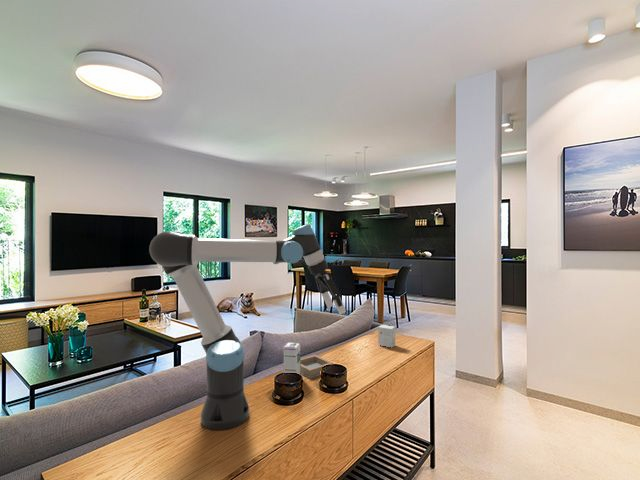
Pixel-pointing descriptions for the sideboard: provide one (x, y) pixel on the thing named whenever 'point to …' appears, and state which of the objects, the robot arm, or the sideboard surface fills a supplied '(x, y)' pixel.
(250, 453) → the sideboard surface
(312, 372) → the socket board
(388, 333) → the small box
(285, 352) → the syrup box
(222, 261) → the robot arm
